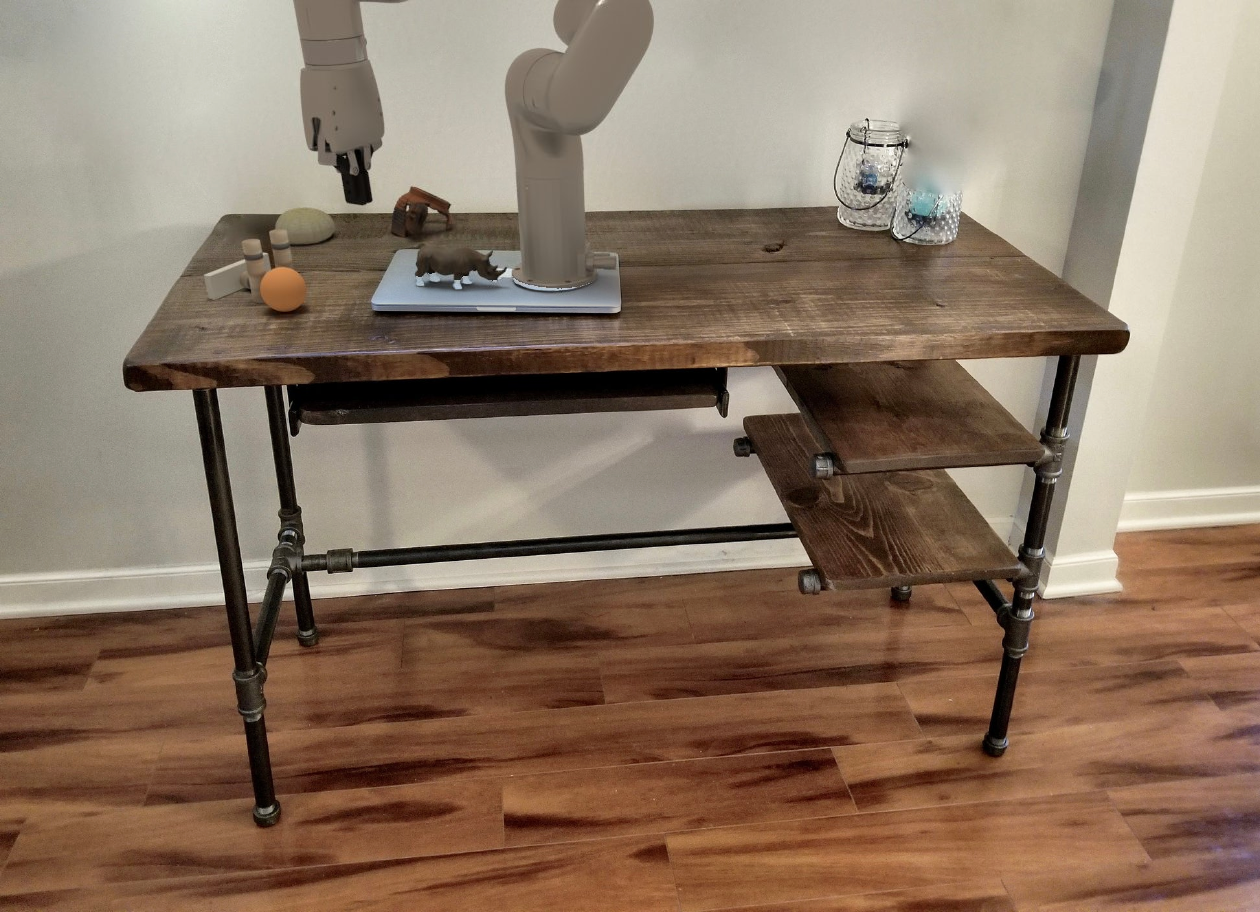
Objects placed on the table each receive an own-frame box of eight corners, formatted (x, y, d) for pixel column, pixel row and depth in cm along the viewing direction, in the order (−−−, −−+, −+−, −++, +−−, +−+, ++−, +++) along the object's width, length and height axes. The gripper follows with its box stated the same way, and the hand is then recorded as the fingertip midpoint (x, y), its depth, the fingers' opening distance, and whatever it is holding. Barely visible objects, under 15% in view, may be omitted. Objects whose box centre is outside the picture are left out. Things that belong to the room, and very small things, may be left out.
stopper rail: (272, 276, 155) (268, 253, 153) (214, 300, 146) (209, 276, 145) (266, 274, 155) (262, 252, 154) (208, 298, 147) (203, 275, 145)
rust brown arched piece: (388, 227, 177) (406, 182, 176) (440, 250, 179) (459, 206, 178) (381, 230, 166) (400, 182, 164) (437, 255, 168) (456, 207, 166)
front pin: (297, 282, 147) (254, 272, 151) (285, 279, 145) (241, 269, 149) (294, 299, 148) (251, 289, 151) (281, 296, 145) (238, 286, 149)
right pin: (300, 286, 151) (290, 229, 147) (293, 292, 149) (283, 234, 145) (283, 285, 151) (273, 228, 147) (276, 291, 149) (265, 234, 145)
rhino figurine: (503, 293, 148) (500, 253, 145) (412, 288, 150) (407, 248, 147) (511, 283, 151) (508, 243, 148) (422, 279, 153) (417, 239, 150)
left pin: (274, 297, 147) (263, 239, 143) (267, 303, 145) (255, 244, 141) (257, 296, 147) (245, 238, 143) (249, 303, 145) (238, 244, 141)
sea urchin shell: (323, 237, 165) (284, 201, 163) (297, 269, 169) (258, 234, 167) (348, 220, 173) (311, 185, 171) (322, 251, 176) (286, 217, 175)
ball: (273, 271, 145) (314, 271, 144) (272, 314, 145) (313, 314, 144) (252, 263, 139) (295, 263, 138) (251, 308, 139) (293, 308, 138)
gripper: (352, 41, 132) (374, 184, 141) (266, 61, 121) (296, 215, 130) (399, 44, 129) (418, 190, 138) (314, 64, 117) (342, 223, 127)
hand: (359, 202), depth 134 cm, fingers closed
